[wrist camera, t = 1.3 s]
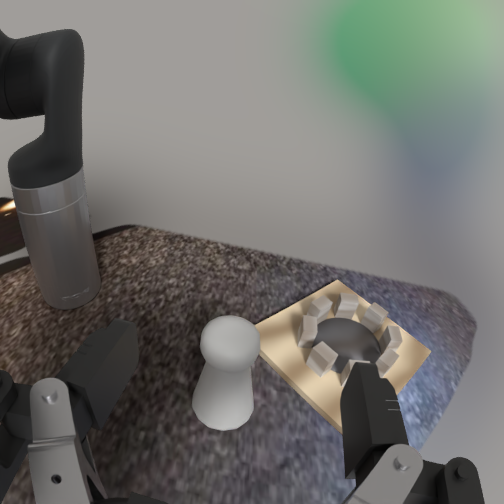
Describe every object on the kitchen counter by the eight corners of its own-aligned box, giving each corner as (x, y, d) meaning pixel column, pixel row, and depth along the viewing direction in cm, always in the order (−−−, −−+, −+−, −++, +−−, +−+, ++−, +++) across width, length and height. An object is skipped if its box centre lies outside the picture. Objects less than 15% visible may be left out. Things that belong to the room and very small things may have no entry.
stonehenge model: (242, 336, 38) (245, 313, 35) (335, 284, 48) (343, 263, 46) (351, 443, 27) (367, 427, 25) (428, 356, 37) (442, 336, 35)
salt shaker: (215, 448, 26) (222, 381, 18) (181, 406, 29) (172, 322, 21) (262, 417, 29) (290, 339, 22) (227, 380, 32) (238, 292, 25)
